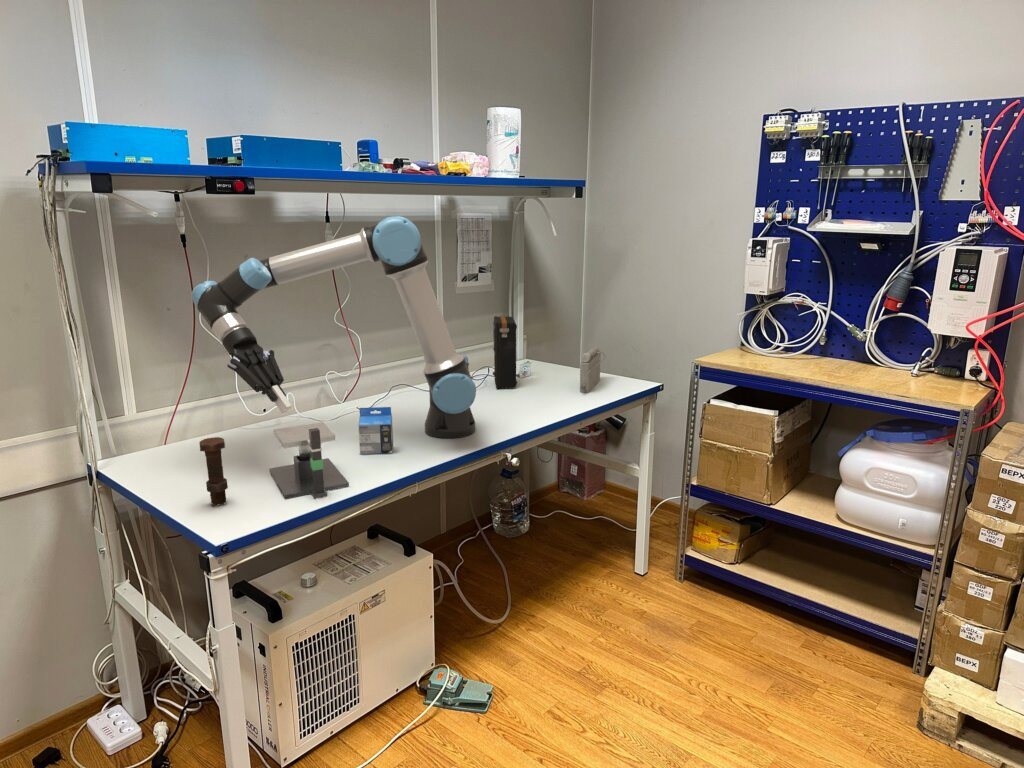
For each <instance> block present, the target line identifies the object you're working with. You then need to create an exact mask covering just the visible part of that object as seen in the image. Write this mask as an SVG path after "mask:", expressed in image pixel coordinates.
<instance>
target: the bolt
mask: <svg viewBox="0 0 1024 768" xmlns="http://www.w3.org/2000/svg"><path fill="white" fill-rule="evenodd" d="M225 448H226V444H225V438H223V437H220V436H219V437H217V436H214V437H207V438H204V439H201V440H200V441H199V451H200V452H204V456H205V460H206V461H205V462H206V469H207V478H208V480H207V481H206V482H205V485H206V491H207V492H208V493H209V495H210V501H211V502H210V503H211V504H212V505H213V506H216V507H217V506H221V505H225V504H226V502H227V495H226V494H227V493H226V490H227V489H229V485H228V479H227V478H225V476H224V468H223V467H224V466H223V460H222V459H223V458H222V449H225Z"/></svg>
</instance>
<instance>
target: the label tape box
mask: <svg viewBox="0 0 1024 768" xmlns="http://www.w3.org/2000/svg"><path fill="white" fill-rule="evenodd" d="M375 411H376V412H377V413H371V412H375ZM358 419H359V421H358V441H359V454H360V455H376V454H377V455H380V454H393V452H394V432H393V415H392V407H391V406H378V407H373V406H372V407H371V406H370V407H369V406H368V407H359V418H358Z"/></svg>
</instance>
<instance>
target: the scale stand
mask: <svg viewBox="0 0 1024 768" xmlns="http://www.w3.org/2000/svg"><path fill="white" fill-rule="evenodd" d="M309 440H310V452H311V458H310V460H306V461H303V460H300V456H299V454H298V455H293V457H292V458H293V463H292V464H288V465H282V466H274V467H270V468H268V470H269V474H270V475H271V478H272V479H273V481H274V483H275V485H276V486H277V488H278V489H279V492H280V493H281V495H282V497H283V498H284V500H287V499H294V498H298V497H304V496H308V495H311V496H312V497H313V499H319V498H325V497H328V492H329V491H333V490H332V489H334V490H338V489H337V488H339V489H343V488H342V487H345V488H348V487H347V486H349V487H350V482H349V481H348V480H347V478H346V477H345V476H344V475H343V474H342V473H341V471H340V470H339V469H338V467H336V465H335V464H334V463H333V461H331V460H330V458H328V457H325V458H323V456H322V444H321V443H322V442H321V441H320V430H319V429H318V428H314V429H309ZM328 490H329V491H328ZM327 491H328V492H327ZM324 496H325V497H324Z"/></svg>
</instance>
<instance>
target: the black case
mask: <svg viewBox="0 0 1024 768" xmlns="http://www.w3.org/2000/svg"><path fill="white" fill-rule="evenodd" d="M492 325H493V337H492V338H493V348H492V349H493V355H494V357H493V358H494V363H493V364H494V365H493V366H494V369H493V370H494V371H492V376H493V377H494V383H495V384H494V385H495V388H496V389H497V390H500V389H515V388H516V387H517V383H518V381H517V329H518V324H517V323H516V321H515V319H514V317H512V316H505V315H499V316H497V315H495V316H494V317H493V322H492Z"/></svg>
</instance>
